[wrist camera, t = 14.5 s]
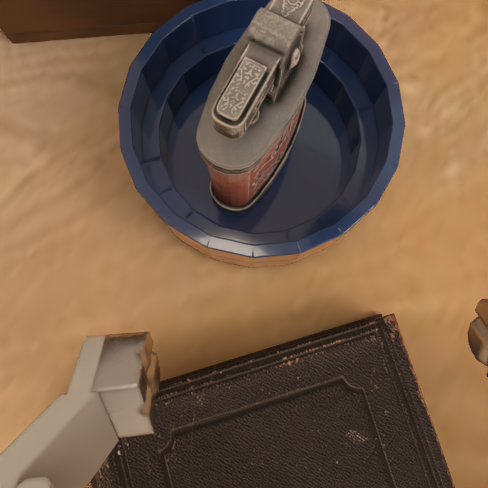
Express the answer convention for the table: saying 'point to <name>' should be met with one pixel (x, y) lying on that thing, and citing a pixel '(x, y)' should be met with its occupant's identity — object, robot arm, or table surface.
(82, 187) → the table surface
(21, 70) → the table surface
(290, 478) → the hardcover book
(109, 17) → the cabinet
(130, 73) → the bowl
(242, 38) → the lighter
